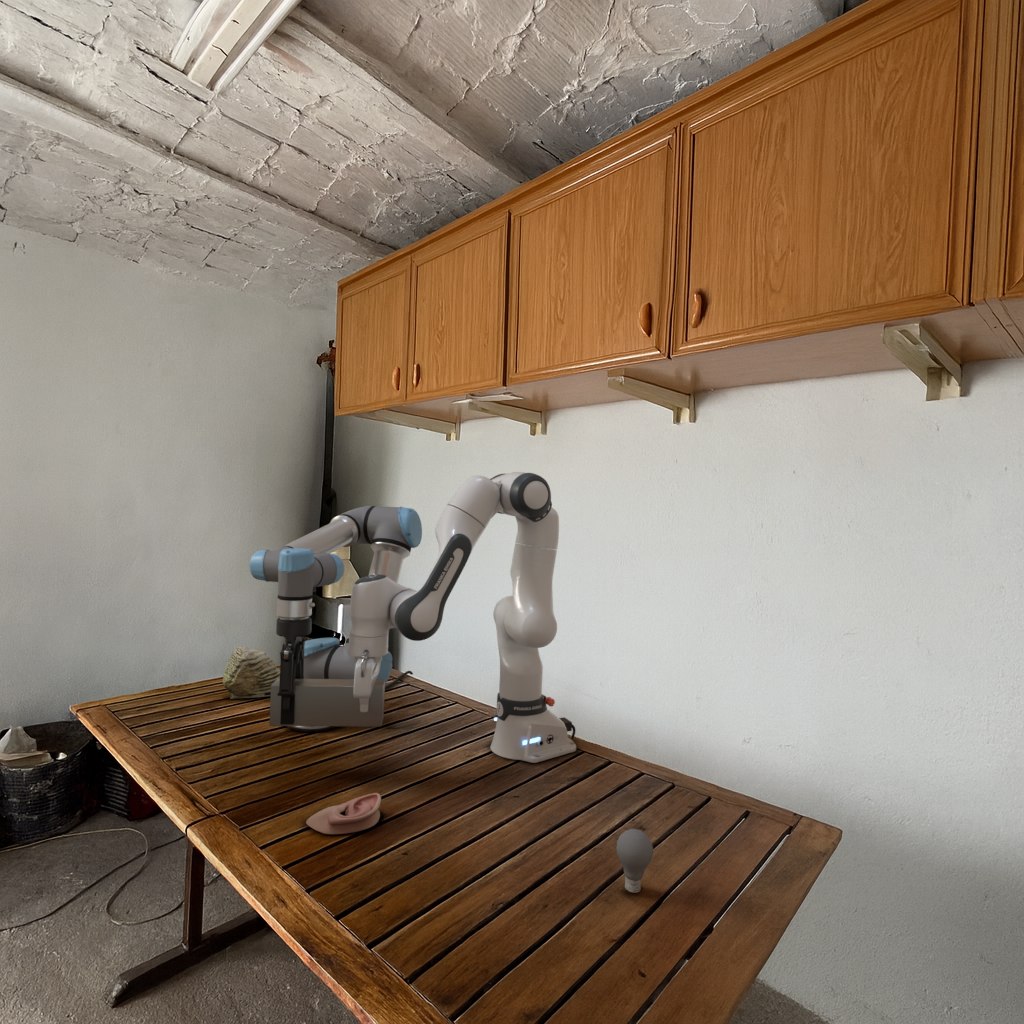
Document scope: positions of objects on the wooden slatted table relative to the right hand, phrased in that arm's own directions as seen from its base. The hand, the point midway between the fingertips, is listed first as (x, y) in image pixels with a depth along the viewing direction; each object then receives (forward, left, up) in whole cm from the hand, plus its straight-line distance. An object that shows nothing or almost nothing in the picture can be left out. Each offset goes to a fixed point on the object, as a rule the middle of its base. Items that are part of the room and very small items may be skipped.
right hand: (366, 705), depth 145 cm
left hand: (+16, -6, -3) cm, 17 cm away
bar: (+8, -3, -4) cm, 9 cm away
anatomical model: (+9, +20, -16) cm, 27 cm away
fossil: (+17, -68, -16) cm, 72 cm away
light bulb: (-30, +60, -16) cm, 69 cm away
